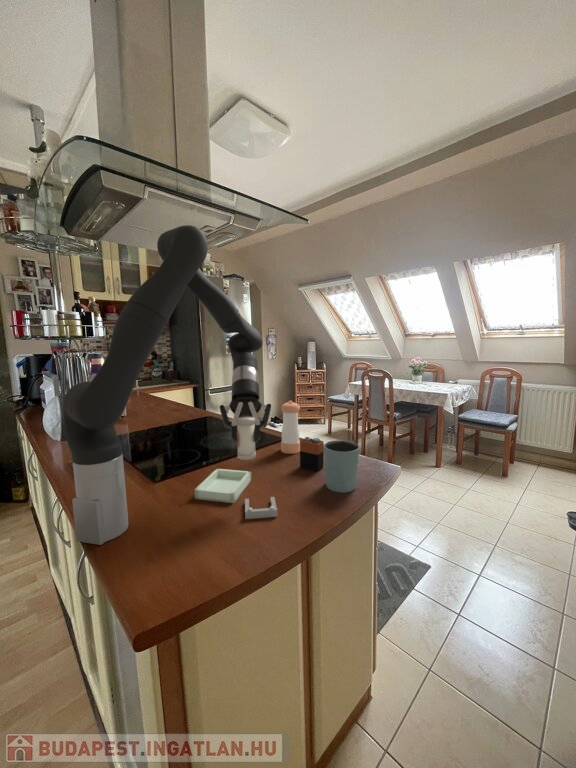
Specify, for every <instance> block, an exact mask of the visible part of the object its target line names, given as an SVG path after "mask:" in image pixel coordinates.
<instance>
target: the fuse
mask: <svg viewBox="0 0 576 768" xmlns="http://www.w3.org/2000/svg"><path fill="white" fill-rule="evenodd" d="M236 420H237V443H236V447H237V459H239V460H242V461H249V460H253V459H255V458H256V457H257V451H256V443H255V430H254V428H255V417H253V416H241V417H238V418H236Z"/></svg>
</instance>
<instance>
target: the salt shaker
mask: <svg viewBox="0 0 576 768" xmlns="http://www.w3.org/2000/svg"><path fill="white" fill-rule="evenodd" d="M300 409H301V406H300V405H299V404H298V403H296V402H294V401H292V400H288V402H285V403H283V404H282V405H281V407H280V410H281V412H282V417H283V418H282V428H281V441H280V452H281V453H283V454H287V455H291V454H293V455H294V454H297V453H300V441H301V440H300V428H299V413H298V412H300Z"/></svg>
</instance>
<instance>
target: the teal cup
mask: <svg viewBox="0 0 576 768" xmlns="http://www.w3.org/2000/svg"><path fill="white" fill-rule="evenodd" d="M360 448H361V447H360V445H359V444H358V443H355V442H353V441H348V440H330V441H327V442H324V455H323V456H324V473H325V474H324V475H325V478H324V479H325V486H326V488H327V489H328V490H330V491H332V492H335V493H340V494H344V493H345V494H346V493H350V492H352V491H354V490H356V487H357V473H358V467H359V463H358V462H359V456H360Z"/></svg>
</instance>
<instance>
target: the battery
mask: <svg viewBox="0 0 576 768" xmlns="http://www.w3.org/2000/svg"><path fill="white" fill-rule="evenodd" d="M299 441H300V452H299V467H300V468H302V469H306V470H311V471H313V472H314V471H315V472H318V471H320V470H321V469H323V468H324V456H325V455H324V444H325V442H324V441H323V440H320V438H318V437H314V438H310V437H309V436H305V437H304V439H302V440H299Z"/></svg>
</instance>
